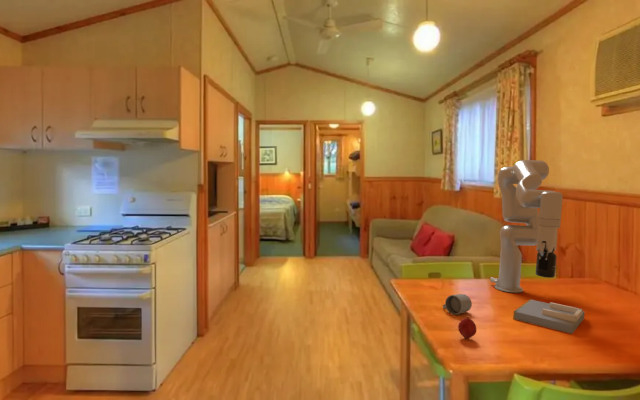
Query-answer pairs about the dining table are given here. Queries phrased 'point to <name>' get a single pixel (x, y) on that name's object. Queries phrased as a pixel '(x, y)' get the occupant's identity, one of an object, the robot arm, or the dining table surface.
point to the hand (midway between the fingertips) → (545, 267)
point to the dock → (550, 315)
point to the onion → (467, 328)
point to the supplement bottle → (551, 266)
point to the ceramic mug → (457, 304)
